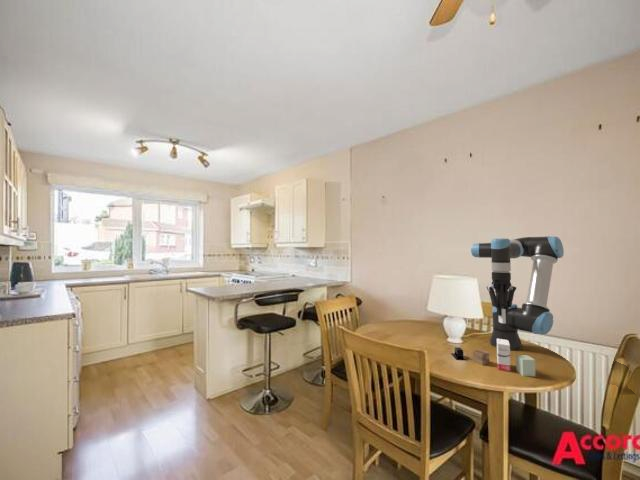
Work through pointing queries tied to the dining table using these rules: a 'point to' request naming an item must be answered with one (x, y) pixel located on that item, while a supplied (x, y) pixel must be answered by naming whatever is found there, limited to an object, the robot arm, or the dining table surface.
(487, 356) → the walnut cube
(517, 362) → the sage block
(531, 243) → the robot arm
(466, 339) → the dining table surface
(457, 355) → the black bracket plate
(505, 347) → the ink box
